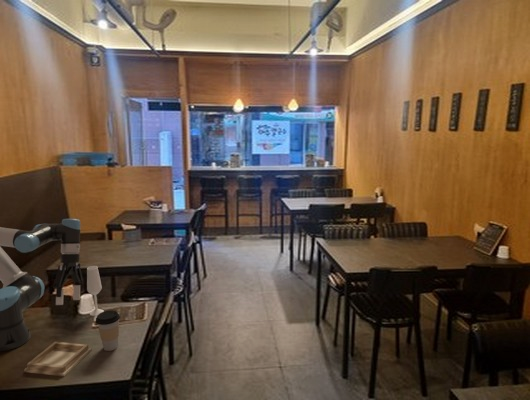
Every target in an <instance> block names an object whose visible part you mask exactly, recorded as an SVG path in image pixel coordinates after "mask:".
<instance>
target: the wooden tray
mask: <svg viewBox="0 0 530 400" xmlns="http://www.w3.org/2000/svg"><path fill="white" fill-rule="evenodd" d="M92 350H93V349H92V347H89V344H83V343H71V342H62V341H54V342H53V343H51V344H50V345H49V346H48V347H46V348H45V349H44V350H43V351H42V352H40V353H38V355H36V356H35V357H34V358H33V359H31V360H30V361H29V362H28V363H26V366H27V367H25V369H23V371H24V373H31V374H39V375H50V376H57V377H65V376H66V375H68V374H69V372H71V371H72V370H73V369H74V368H75V367H76V366H77V365H78V364H79V363H80V362H81V361H83V359H84V358H85V357H86V356H88V354H90V352H92Z"/></svg>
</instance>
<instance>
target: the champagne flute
mask: <svg viewBox="0 0 530 400" xmlns="http://www.w3.org/2000/svg"><path fill="white" fill-rule="evenodd" d="M98 268H99V267H98V266H97V265H92V266H88V267H87V268H86V291H87V292H88V293H89V294H90V295H92V296H93V301H94V309H93V310H92V311H90V312H89V315H90V316H91V317H92V316H93V317H94V316H95V317H97V316H98V315H99V314H100V313H102V312H104V311H105V310H104V309H100V308H99V307H98V298H97V297H98V296H97V295H98V294H99V293H100V292H101V291H102V289H103V287H102V281H101V277H100V273H99V269H98Z"/></svg>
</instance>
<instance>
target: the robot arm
mask: <svg viewBox="0 0 530 400" xmlns="http://www.w3.org/2000/svg"><path fill="white" fill-rule="evenodd" d="M81 230H82V229H81V220H80V219H79V218H63V219H62V220H61V223H41V224H40V223H39V224H36V225H34V227H33V229H32V230H23V229H16V228H7V227H1V226H0V282H1V283H2V288H0V352H5V351H10V350H13V349H16V348H19V347H21V346H23V345H25V344H26V343H28V341H29V340H30V339H31V331H30V329H29V328H28V326H27V324H26V322H25V321H24V315H23V312H24V311H26V309H28V308H29V307H31V306H32V305H33V304H35V303H36V302H38V301H39V300H40V299H41V298H42V296H44V293H45V284H44V281H43V280H42V279H41V278H40V277H38V276H35V275H32V276H31V274H29V272H27V271H22V270H21V269H20V268H19V266H18V265H16V263H15V262H14V261H13V259H11V258H12V257H10V256H9V255H8V253H6V251H5V250H4V249H3V248H2V247H7V248H8V247H9V248H15V249H16V250H17V251H18V252H19V253H30V252H32V251H36V249H38V248H40V247H41V246H44V245H46V244H47V243H50V242H52V241H61V242H60V253H61V254H60V263H62V264H61V265H58V266H57V272H56V275H55V278H54V282H53V285H52V288H53V290H55V291H56V293H55V295H56V296H55V306H63V305H64V291H65V290H64V285H65V284H66V282H67V280H68V278H69V276H70V277H71V280H72V281H73V283H74V284H73V290H72V291H73V293H72V295H73V296H72V299H73V301H79V300H81V286H83V284H84V278H83V273H82V270H81V269H82V268H81V263H79V262H80V249H81V243H80V242H81Z"/></svg>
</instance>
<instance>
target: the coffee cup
mask: <svg viewBox="0 0 530 400" xmlns="http://www.w3.org/2000/svg"><path fill="white" fill-rule="evenodd" d="M120 318H121V316H120V314H119V312H118V311H117V310H115V309H114V310H113V309H110V310H109V309H107V310H104V312H102V313H100V314H99V315H97V316H96V319H95V323H96V324H97V326H98V331H99V337H100V340H101V343H102V348H103V350H104V351H107V352H110V351H114V350H116V349H117V348H118V347H119V336H120V334H119V333H120V322H119V321H120Z"/></svg>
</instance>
